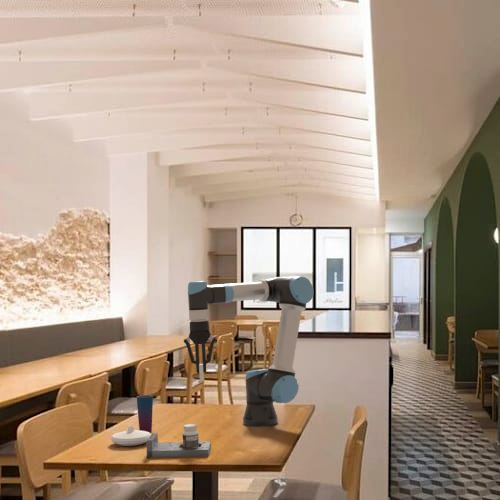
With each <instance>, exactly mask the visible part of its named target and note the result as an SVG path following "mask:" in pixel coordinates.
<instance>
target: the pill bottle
mask: <svg viewBox="0 0 500 500" xmlns="http://www.w3.org/2000/svg"><path fill="white" fill-rule="evenodd" d="M197 428H198V426H197V424H194V423H191V424H190V423H189V424H184V425H183V430H184V431H183V432H182V442H183V449H184V448H199V442H200V440H199V432H198V430H197Z"/></svg>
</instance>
